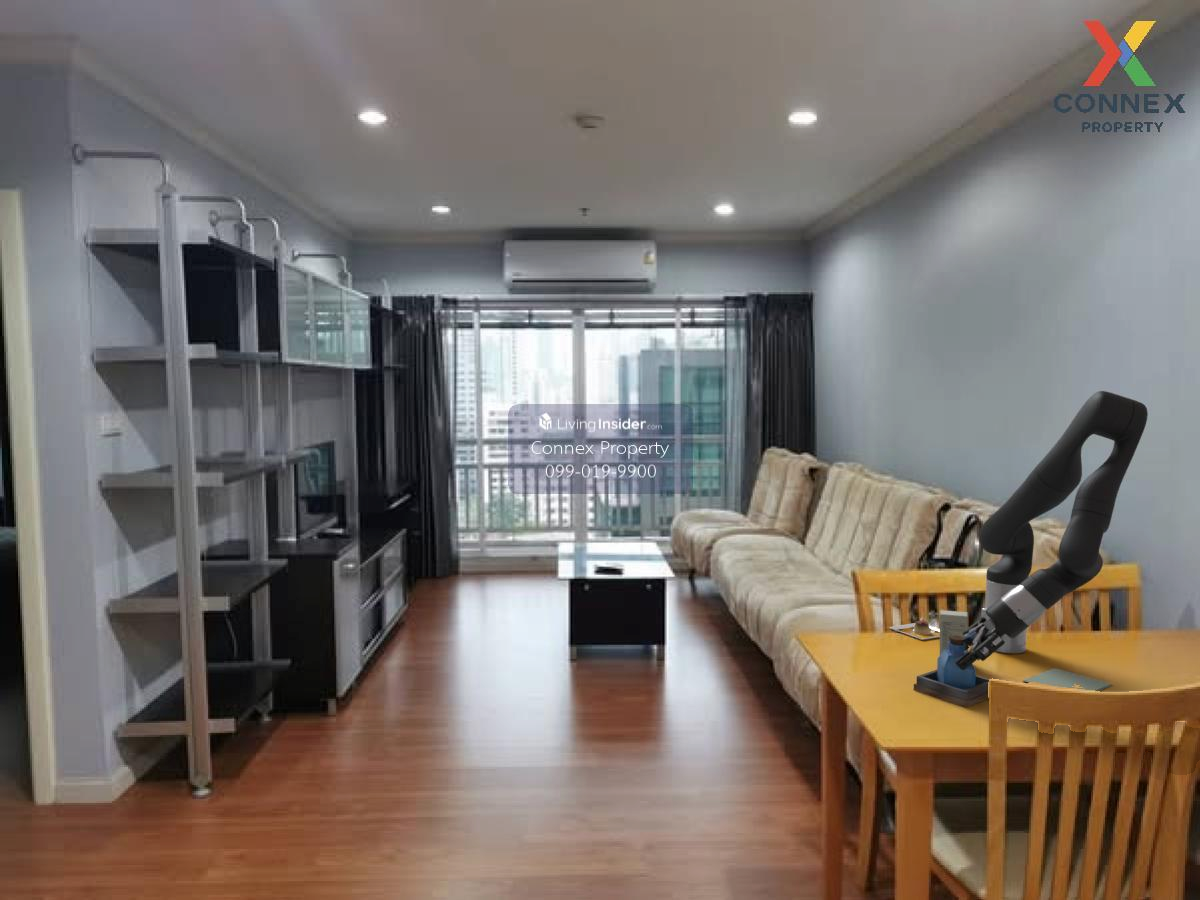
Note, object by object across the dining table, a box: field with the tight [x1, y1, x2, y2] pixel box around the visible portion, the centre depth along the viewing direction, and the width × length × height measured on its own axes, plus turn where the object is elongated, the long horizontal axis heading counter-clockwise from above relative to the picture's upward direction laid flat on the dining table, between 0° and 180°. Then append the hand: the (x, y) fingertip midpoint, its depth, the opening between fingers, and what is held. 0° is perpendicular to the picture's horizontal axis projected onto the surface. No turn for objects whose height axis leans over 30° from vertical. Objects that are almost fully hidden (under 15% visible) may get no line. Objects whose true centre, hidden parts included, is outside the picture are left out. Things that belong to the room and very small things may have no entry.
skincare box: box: [938, 609, 969, 656], centre depth 187 cm, size 6×4×12 cm
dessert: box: [888, 616, 940, 641], centre depth 212 cm, size 12×12×5 cm
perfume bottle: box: [936, 635, 977, 690], centre depth 168 cm, size 6×6×12 cm
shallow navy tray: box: [913, 669, 990, 708], centre depth 168 cm, size 12×12×3 cm
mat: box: [1022, 667, 1112, 692], centre depth 173 cm, size 12×14×1 cm
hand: (955, 660), depth 168 cm, fingers open, 8 cm apart
